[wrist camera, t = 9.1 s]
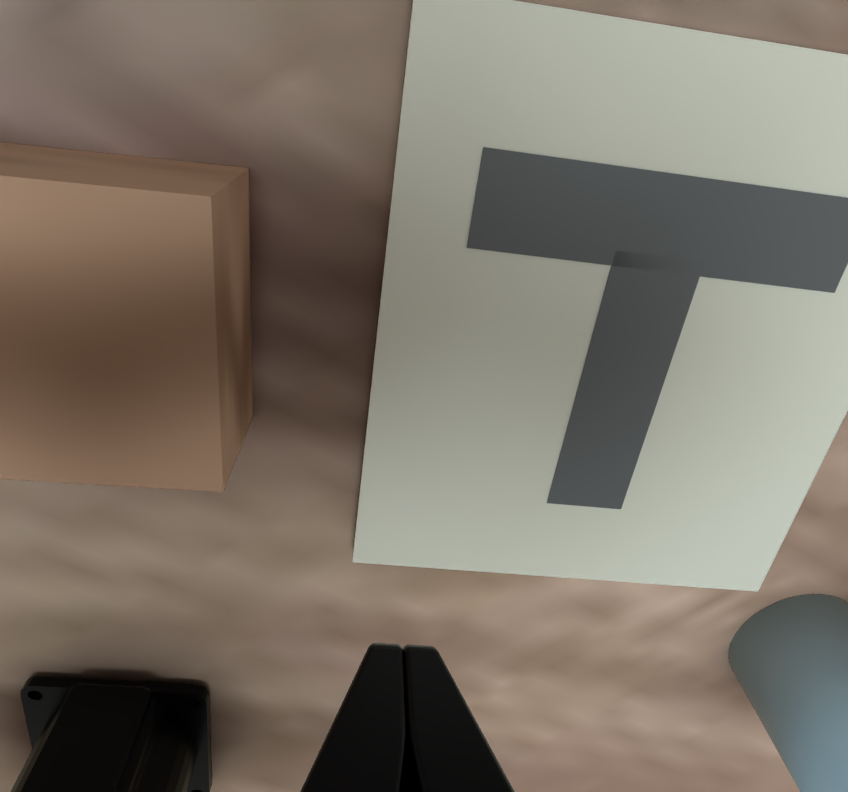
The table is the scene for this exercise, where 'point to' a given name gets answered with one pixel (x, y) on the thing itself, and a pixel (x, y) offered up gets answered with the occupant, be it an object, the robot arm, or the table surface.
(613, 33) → the letter board
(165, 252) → the terracotta block
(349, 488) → the table surface
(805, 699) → the blue cylinder
